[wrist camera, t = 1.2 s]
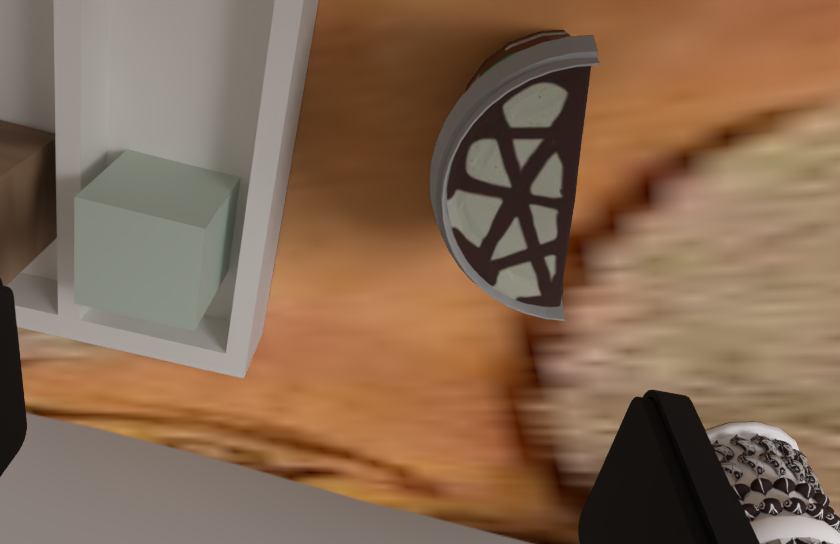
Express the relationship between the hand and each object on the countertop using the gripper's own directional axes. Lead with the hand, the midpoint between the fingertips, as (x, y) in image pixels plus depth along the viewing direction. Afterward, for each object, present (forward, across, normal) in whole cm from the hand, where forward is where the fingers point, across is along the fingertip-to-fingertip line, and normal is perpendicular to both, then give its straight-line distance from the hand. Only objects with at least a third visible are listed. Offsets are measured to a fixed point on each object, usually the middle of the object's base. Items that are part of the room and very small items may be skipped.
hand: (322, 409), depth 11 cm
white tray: (+29, +15, +8) cm, 33 cm away
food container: (+28, -5, +3) cm, 29 cm away
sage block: (+27, +10, +12) cm, 31 cm away
